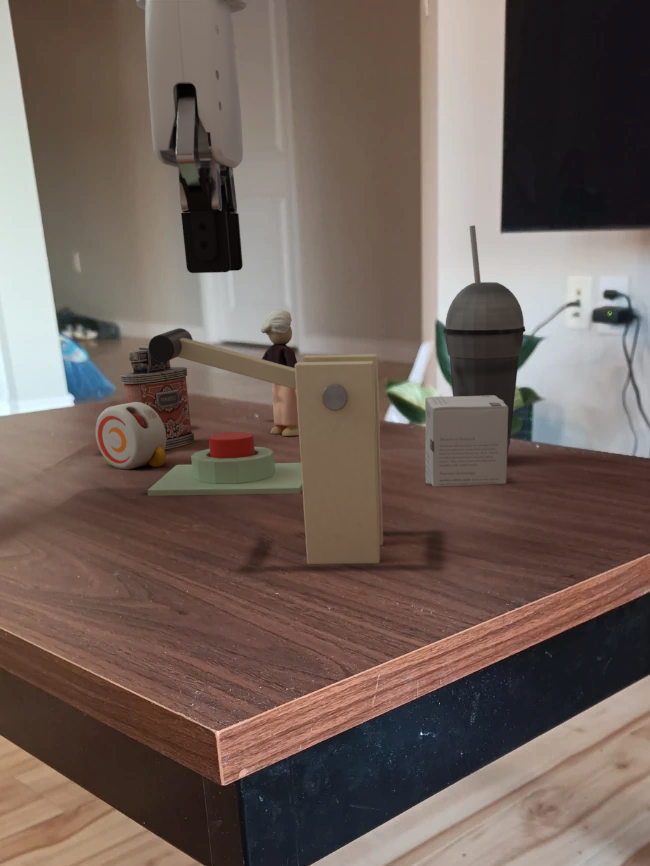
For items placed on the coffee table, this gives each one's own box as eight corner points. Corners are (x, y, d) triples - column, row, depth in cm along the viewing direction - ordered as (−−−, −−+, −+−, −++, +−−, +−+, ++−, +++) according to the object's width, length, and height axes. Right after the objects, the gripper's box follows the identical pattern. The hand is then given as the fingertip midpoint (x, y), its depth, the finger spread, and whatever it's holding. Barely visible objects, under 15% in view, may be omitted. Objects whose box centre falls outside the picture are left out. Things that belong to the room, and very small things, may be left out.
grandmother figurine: (322, 433, 112) (316, 309, 107) (297, 438, 110) (289, 311, 105) (275, 427, 117) (266, 307, 112) (249, 432, 115) (239, 309, 109)
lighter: (146, 453, 104) (133, 349, 99) (122, 451, 105) (109, 347, 101) (201, 441, 110) (191, 341, 106) (178, 438, 111) (168, 340, 107)
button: (206, 462, 83) (204, 439, 82) (215, 453, 86) (213, 432, 85) (251, 461, 82) (249, 439, 82) (258, 453, 86) (256, 431, 85)
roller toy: (129, 459, 101) (121, 398, 98) (178, 465, 98) (171, 402, 96) (96, 468, 98) (86, 405, 95) (145, 473, 95) (137, 409, 92)
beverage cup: (510, 471, 92) (516, 223, 84) (433, 467, 95) (431, 226, 86) (530, 455, 98) (537, 224, 90) (457, 452, 101) (457, 226, 92)
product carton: (424, 486, 87) (423, 396, 84) (495, 483, 88) (496, 393, 85) (432, 502, 82) (431, 406, 79) (508, 499, 82) (510, 403, 79)
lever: (145, 367, 58) (151, 323, 57) (166, 358, 62) (172, 316, 61) (354, 424, 59) (364, 382, 58) (360, 411, 63) (369, 371, 62)
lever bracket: (250, 592, 62) (230, 368, 56) (270, 555, 69) (254, 353, 64) (433, 590, 61) (431, 364, 56) (434, 553, 69) (432, 350, 63)
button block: (149, 511, 81) (144, 466, 80) (178, 484, 90) (173, 443, 89) (301, 509, 81) (298, 464, 79) (314, 482, 90) (312, 441, 88)
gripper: (164, 7, 78) (191, 269, 86) (98, -49, 63) (138, 276, 71) (262, 4, 78) (280, 267, 86) (220, -53, 63) (246, 273, 70)
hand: (215, 268), depth 78 cm, fingers open, 4 cm apart
